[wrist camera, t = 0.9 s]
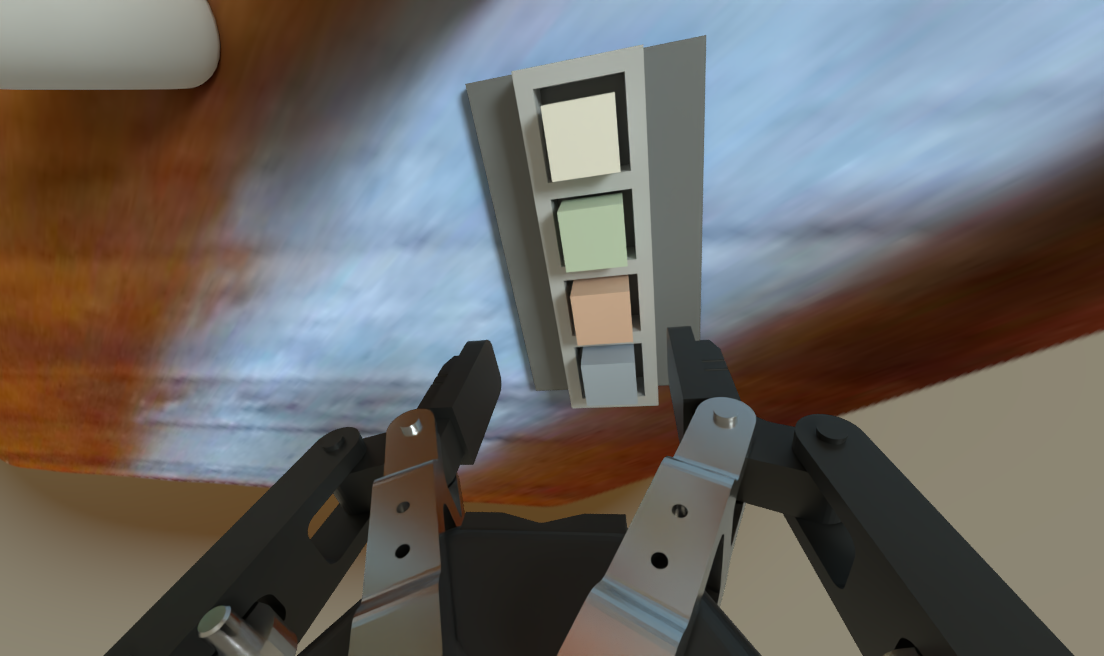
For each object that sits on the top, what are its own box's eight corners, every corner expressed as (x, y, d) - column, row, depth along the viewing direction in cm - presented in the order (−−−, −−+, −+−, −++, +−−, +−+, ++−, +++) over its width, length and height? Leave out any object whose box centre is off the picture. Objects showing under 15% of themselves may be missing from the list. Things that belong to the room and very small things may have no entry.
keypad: (702, 37, 23) (716, 29, 20) (696, 376, 35) (704, 403, 32) (470, 84, 26) (451, 83, 23) (537, 384, 37) (531, 409, 34)
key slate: (633, 341, 31) (634, 362, 28) (636, 380, 32) (638, 404, 30) (583, 344, 31) (580, 365, 29) (589, 383, 33) (587, 406, 31)
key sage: (622, 192, 25) (622, 203, 23) (626, 250, 27) (627, 266, 25) (562, 200, 26) (556, 212, 24) (570, 256, 28) (566, 272, 25)
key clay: (628, 273, 28) (629, 291, 26) (631, 321, 30) (633, 342, 27) (573, 279, 29) (570, 296, 26) (580, 325, 31) (577, 345, 28)
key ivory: (614, 91, 23) (614, 92, 20) (620, 163, 24) (620, 172, 22) (548, 104, 23) (540, 106, 21) (558, 173, 25) (552, 182, 23)
